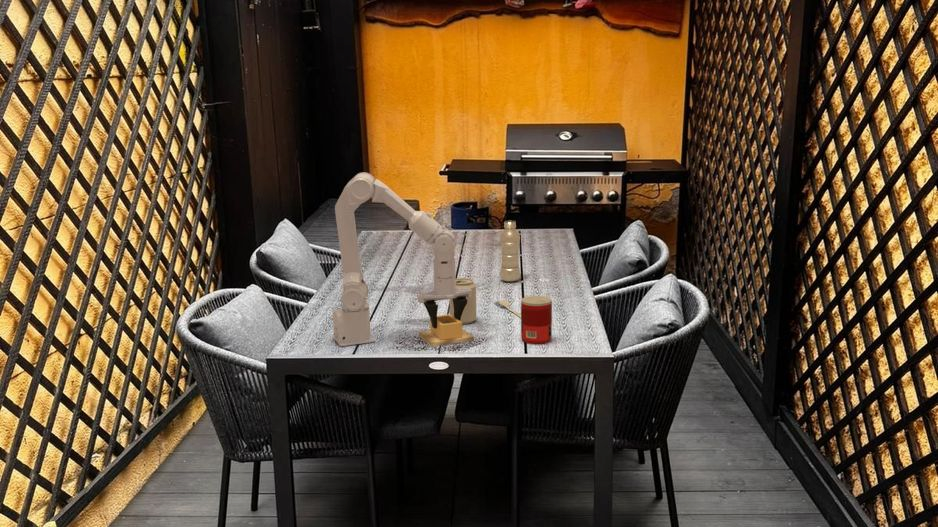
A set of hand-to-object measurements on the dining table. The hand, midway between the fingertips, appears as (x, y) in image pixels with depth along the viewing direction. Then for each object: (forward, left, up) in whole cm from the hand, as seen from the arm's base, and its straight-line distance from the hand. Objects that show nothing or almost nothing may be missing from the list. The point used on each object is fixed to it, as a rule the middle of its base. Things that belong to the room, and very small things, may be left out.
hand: (445, 325), depth 233 cm
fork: (+26, +16, -4) cm, 31 cm away
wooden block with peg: (0, 0, -3) cm, 3 cm away
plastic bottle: (+41, +47, -4) cm, 63 cm away
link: (0, 0, -2) cm, 2 cm away
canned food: (+21, -12, -4) cm, 24 cm away
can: (+10, +12, -4) cm, 16 cm away
